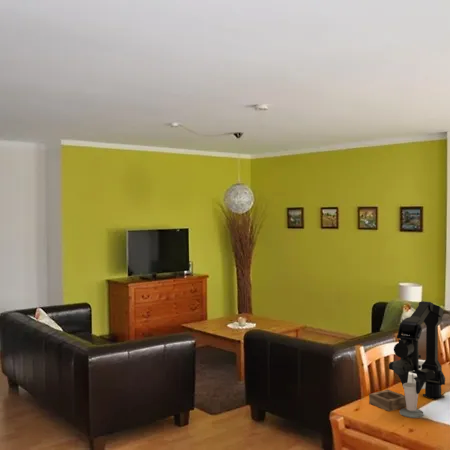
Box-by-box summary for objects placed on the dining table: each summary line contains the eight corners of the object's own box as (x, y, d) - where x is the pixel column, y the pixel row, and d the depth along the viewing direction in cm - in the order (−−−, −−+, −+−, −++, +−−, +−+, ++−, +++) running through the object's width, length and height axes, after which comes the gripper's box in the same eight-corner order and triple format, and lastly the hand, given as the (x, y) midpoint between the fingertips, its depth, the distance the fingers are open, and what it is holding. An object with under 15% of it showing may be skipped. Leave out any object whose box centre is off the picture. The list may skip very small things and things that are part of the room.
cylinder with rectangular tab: (405, 387, 247) (405, 361, 247) (408, 382, 255) (408, 356, 255) (426, 390, 243) (425, 363, 242) (428, 384, 251) (428, 358, 250)
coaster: (410, 408, 220) (410, 406, 220) (428, 415, 212) (428, 413, 212) (394, 412, 216) (394, 410, 216) (412, 419, 208) (412, 417, 208)
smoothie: (418, 413, 209) (417, 377, 209) (401, 410, 213) (400, 375, 213) (421, 407, 215) (421, 373, 215) (405, 405, 218) (404, 370, 218)
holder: (388, 398, 232) (387, 389, 232) (408, 406, 222) (408, 396, 222) (369, 403, 226) (369, 394, 226) (389, 411, 217) (389, 401, 217)
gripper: (378, 350, 218) (379, 388, 218) (415, 360, 201) (416, 402, 202) (398, 346, 223) (398, 383, 223) (435, 356, 207) (436, 396, 207)
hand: (411, 391), depth 214 cm, fingers closed on smoothie, 6 cm apart
